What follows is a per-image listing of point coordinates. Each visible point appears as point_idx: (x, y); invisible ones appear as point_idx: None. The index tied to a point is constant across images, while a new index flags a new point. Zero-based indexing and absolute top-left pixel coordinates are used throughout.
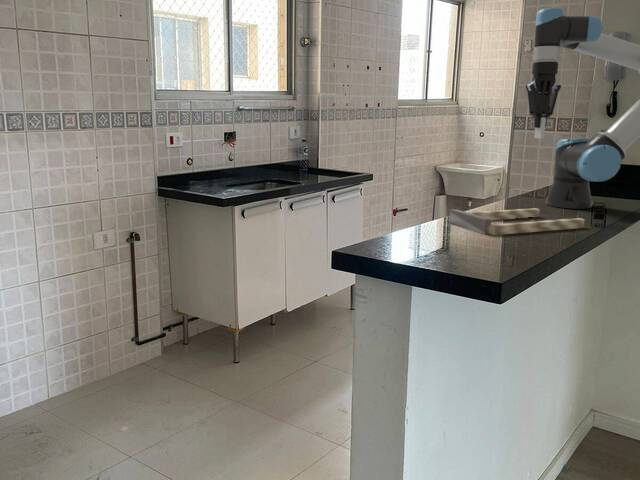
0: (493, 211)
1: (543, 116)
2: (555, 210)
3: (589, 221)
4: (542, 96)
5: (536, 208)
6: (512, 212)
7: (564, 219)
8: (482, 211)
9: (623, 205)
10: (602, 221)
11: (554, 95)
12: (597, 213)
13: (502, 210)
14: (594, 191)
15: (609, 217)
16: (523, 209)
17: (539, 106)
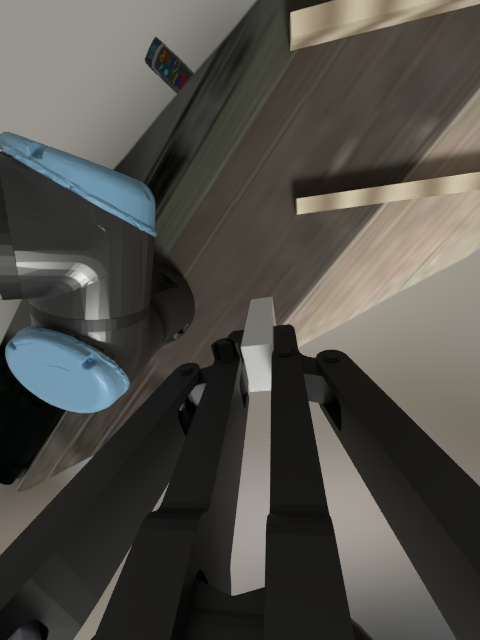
0: (436, 185)
1: (243, 369)
2: (208, 266)
3: (217, 122)
4: (299, 496)
5: (297, 209)
6: (379, 186)
7: (349, 17)
8: (463, 191)
9: None
10: (187, 117)
11: (86, 511)
12: None
13: (401, 196)
14: (37, 412)
15: (143, 166)
16: (338, 201)
17: (308, 404)
